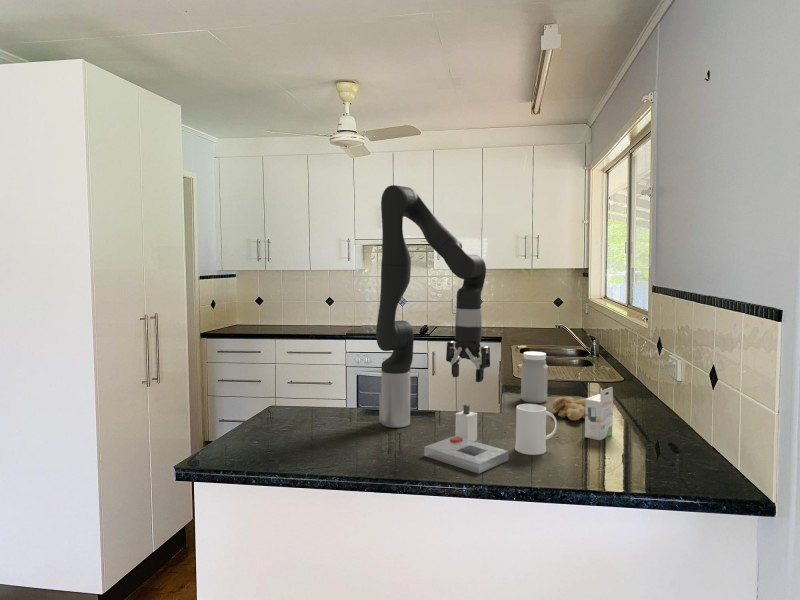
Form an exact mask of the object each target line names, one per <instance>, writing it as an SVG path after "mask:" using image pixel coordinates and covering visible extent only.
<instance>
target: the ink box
mask: <svg viewBox="0 0 800 600" xmlns="http://www.w3.org/2000/svg"><path fill="white" fill-rule="evenodd" d="M613 392H614V391H613V386H610V387H608V388H605V389H603V390H600V393H598V394H595V395H593V396H590V397H586V398H587V399H585V418H584V420H585V421H584V438H588V439H591V440H595V441H596V440H597V441H602V440H604V439H606V438H608V437H609V436H612V435H613V416H614V414H613V413H614V411H613V410H614V407H613V406H614V393H613ZM607 393H608V394H607Z"/></svg>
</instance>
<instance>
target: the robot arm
mask: <svg viewBox="0 0 800 600" xmlns="http://www.w3.org/2000/svg"><path fill="white" fill-rule="evenodd" d="M380 208H381V209H380V210H381V211H380V213H381V227H382V233H381V234H382V243H381V244H382V246H381V249H382V250H381V252H382V253H381V262H380V263H381V267H380V269H381V270H380V295H379V308H378V315H377V321H376V322H377V323H376V329H375V330H376V331H375V339H376V344H377V346H378V348H379V349H380V350H382V351H383V352H390V351H392V353H391V354H390V356H389V357H388V358H386V359H384V360H383V361H382V362H381V392H380V393H379V394H378V395H379V397H378V399H379V402H378V404H379V409H378V412H379V415H378V416H379V422H378V423H380V424H381V425H382V426H384V427H388V428H404V427H408V426H410V424H411V367H412V363H413V358H414V341H415V340H414V339H415V338H414V336H415V335H414V330H413V327H412V325H411V323H410V322H409V321H408V320H396V315H397V314H396V313H397V308H398V305H399V304H400V302H401V299H402V297H403V296H404V294H405V292H406V290H407V288H408V286H409V284H410V281H411V271H412V269H411V267H412V259H411V255H410V252H409V248H408V246H407V243H406V241H405V237H404V233H403V232H404V231H403V218H407V219H409V220H410V221H411V222H412V223H414V224H416V226H417V227H418V228H419V230H420V231H421V232H422V234H423V237H424V239H425V240H426V242H427V243H428V245H429V246H430V247H431V248H432V249H433V250H434V251H435V252H436V253H437V254H438V255H439V256H440V257H441V258H442V259H443V261H444V262H445V264H446V266H448V268H449V270H450V271H451V272H452V274H454V276H455V277H457V278H459V279H460V280H463V282H462V286H461V287H460V288H459V289H458V290H457V292H456V308H455V317H454V318H455V322H454V326H455V327H454V340H455V341H456V342H455V341H454V340H451V341H447V343H446V354H445V360H446V362H449V363H450V364H451V376H452V378H458V377H459V375H460V364H459V363H460V362H461V360H462V359H464V360H465V359H466V360H469V361H471V363H472V364H474V366H475V368H476V369H475V382H476V383H481V382H483V381H484V374H485V373H484V372H485V371H484V370H485V369H487V368H490V366H491V349H490V348H491V347H490V346H488V345H487V346H482V345H481V340H482V318H483V317H482V292H483V287H484V284H485V279H486V275H487V266H486V265H487V264H486V262H485V260H484V258H483V257H482V256H480V255H478V254H468V253H467V252H465V251H464V249H463V244H462V242H461V241H460V240H459V238H458V237H456V236H455V235H454V234H453V233H452V232H451V231H450V230H449V229H448V228H447V227H446V226H444V224H442V222H441V221H439V220H438V218H437V217H436V216H435V215H434V213H432V211H431V210H430V208H428V206H427V205H426V204H425V202H424V201H423V199H422V198H421V197H420V195H419V194H418V193H417V192H416V191H415V189H413V188H411V187H408V186H401V185H394V184H391V185H389V186H387V187H386V188H385V189H384V191H383V192H382V195H381V201H380Z"/></svg>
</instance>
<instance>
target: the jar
mask: <svg viewBox="0 0 800 600" xmlns="http://www.w3.org/2000/svg"><path fill="white" fill-rule="evenodd" d="M546 359H547V353H546V352H543V351H532V350H531V351H524V352H523V360H522V361H523V363H521V377H520V379H521V382H520V398H521V400H522V401H523V402H525V403H528V404H542V403H544V402H546V401H547V400H548V375H549V373H548V371H549V369H548V368H549V366H548V364H547V361H546Z"/></svg>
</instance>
